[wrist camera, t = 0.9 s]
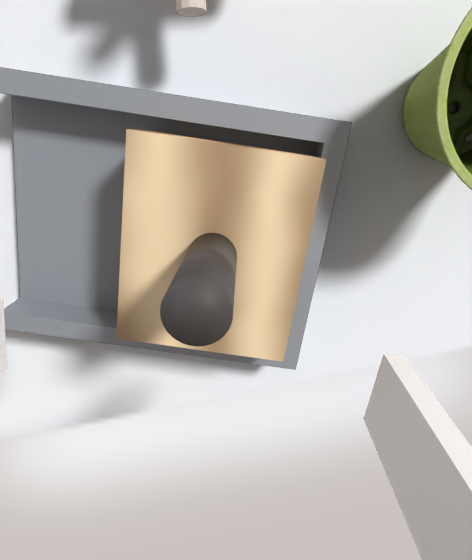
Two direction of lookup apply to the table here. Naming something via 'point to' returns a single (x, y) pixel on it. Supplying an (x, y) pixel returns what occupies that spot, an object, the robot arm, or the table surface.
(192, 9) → the pipe connector
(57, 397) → the table surface
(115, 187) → the bay
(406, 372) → the robot arm
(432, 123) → the plant pot
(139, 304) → the wooden block with peg
